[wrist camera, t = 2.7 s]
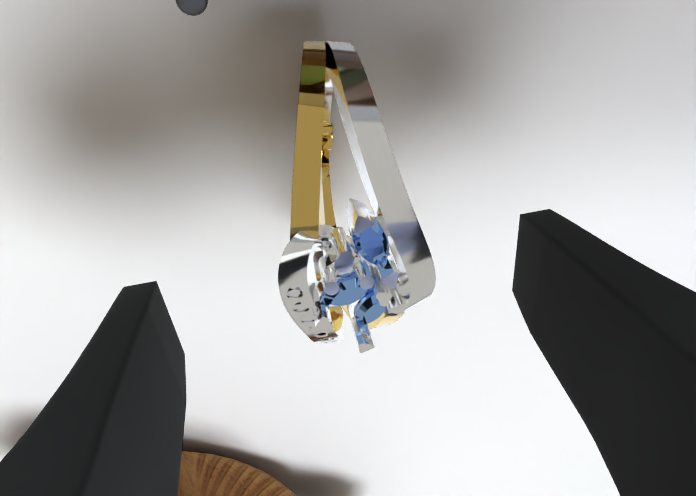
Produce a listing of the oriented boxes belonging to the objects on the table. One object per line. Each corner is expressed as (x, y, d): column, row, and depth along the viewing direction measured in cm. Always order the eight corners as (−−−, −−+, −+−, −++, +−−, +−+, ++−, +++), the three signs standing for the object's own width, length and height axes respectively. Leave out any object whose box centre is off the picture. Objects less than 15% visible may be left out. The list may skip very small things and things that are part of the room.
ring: (254, -2, 15) (282, 144, 9) (377, 1, 16) (483, 141, 10) (259, 224, 19) (281, 430, 13) (356, 220, 20) (420, 416, 14)
